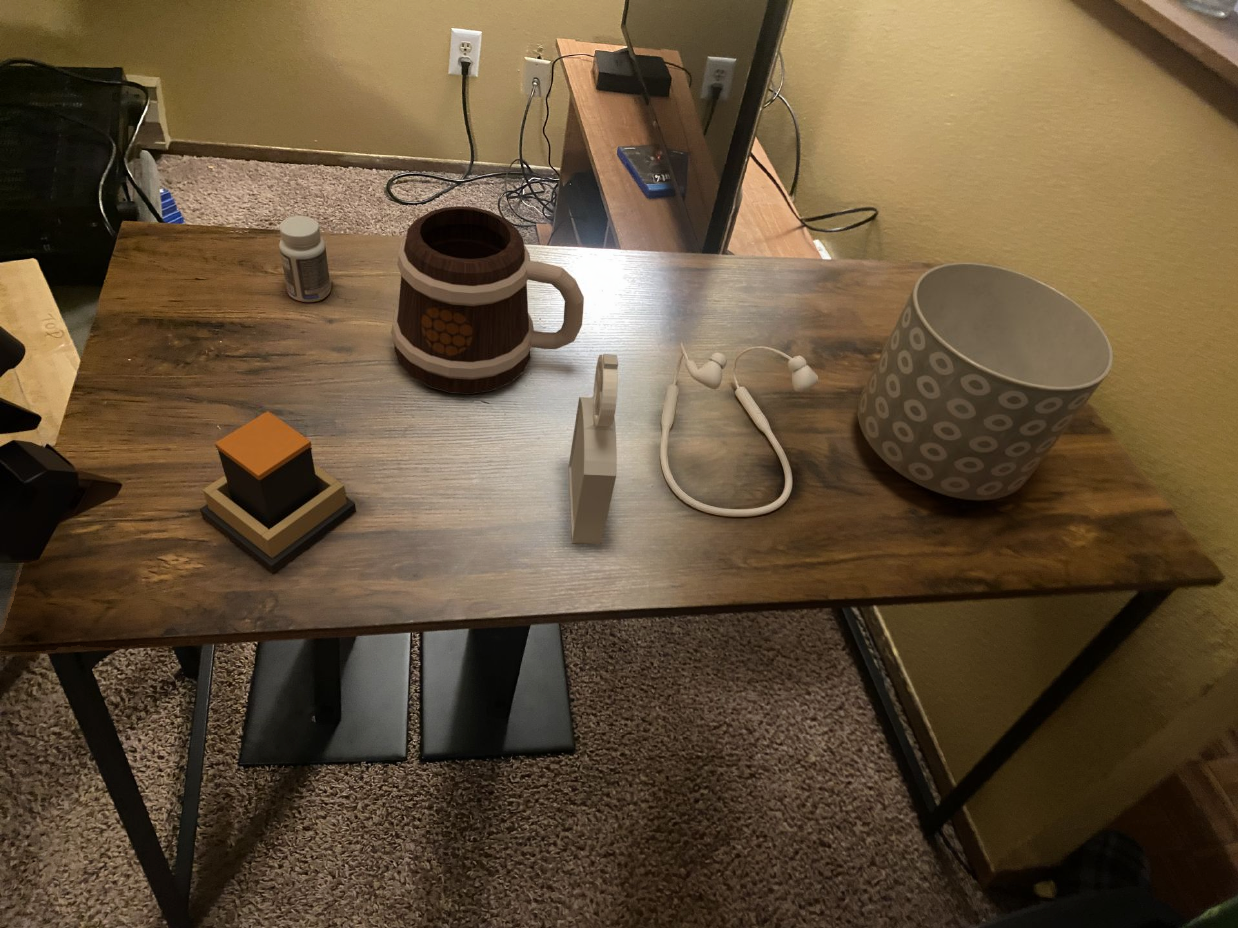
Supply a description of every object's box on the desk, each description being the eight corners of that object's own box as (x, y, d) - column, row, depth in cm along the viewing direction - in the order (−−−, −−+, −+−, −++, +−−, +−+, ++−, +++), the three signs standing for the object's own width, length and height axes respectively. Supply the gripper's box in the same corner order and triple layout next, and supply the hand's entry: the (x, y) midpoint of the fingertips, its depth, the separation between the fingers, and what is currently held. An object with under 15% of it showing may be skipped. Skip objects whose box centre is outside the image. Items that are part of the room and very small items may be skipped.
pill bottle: (336, 282, 96) (329, 218, 90) (322, 306, 93) (313, 241, 87) (296, 275, 96) (285, 210, 90) (280, 299, 93) (268, 233, 87)
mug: (375, 387, 86) (365, 263, 75) (411, 300, 96) (407, 181, 85) (567, 418, 87) (584, 300, 76) (582, 329, 97) (599, 215, 86)
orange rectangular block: (274, 538, 70) (258, 475, 64) (233, 507, 72) (214, 443, 66) (321, 504, 73) (310, 441, 67) (281, 474, 75) (267, 410, 69)
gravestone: (596, 468, 83) (623, 323, 70) (601, 544, 76) (632, 400, 63) (568, 466, 82) (590, 321, 69) (571, 543, 76) (596, 398, 63)
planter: (820, 397, 95) (880, 262, 82) (962, 388, 100) (1039, 260, 87) (894, 527, 83) (978, 394, 70) (1051, 510, 88) (1156, 383, 75)
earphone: (765, 347, 94) (834, 346, 76) (756, 493, 96) (822, 525, 78) (647, 342, 91) (690, 340, 73) (640, 492, 93) (681, 525, 76)
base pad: (273, 574, 69) (266, 547, 66) (202, 517, 72) (192, 489, 69) (356, 511, 75) (353, 484, 72) (287, 461, 77) (281, 433, 75)
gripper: (-25, 374, 40) (221, 422, 55) (-219, 211, 45) (51, 294, 60) (-130, 571, 41) (140, 565, 55) (-308, 386, 46) (-20, 426, 61)
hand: (77, 455), depth 58 cm, fingers open, 9 cm apart
